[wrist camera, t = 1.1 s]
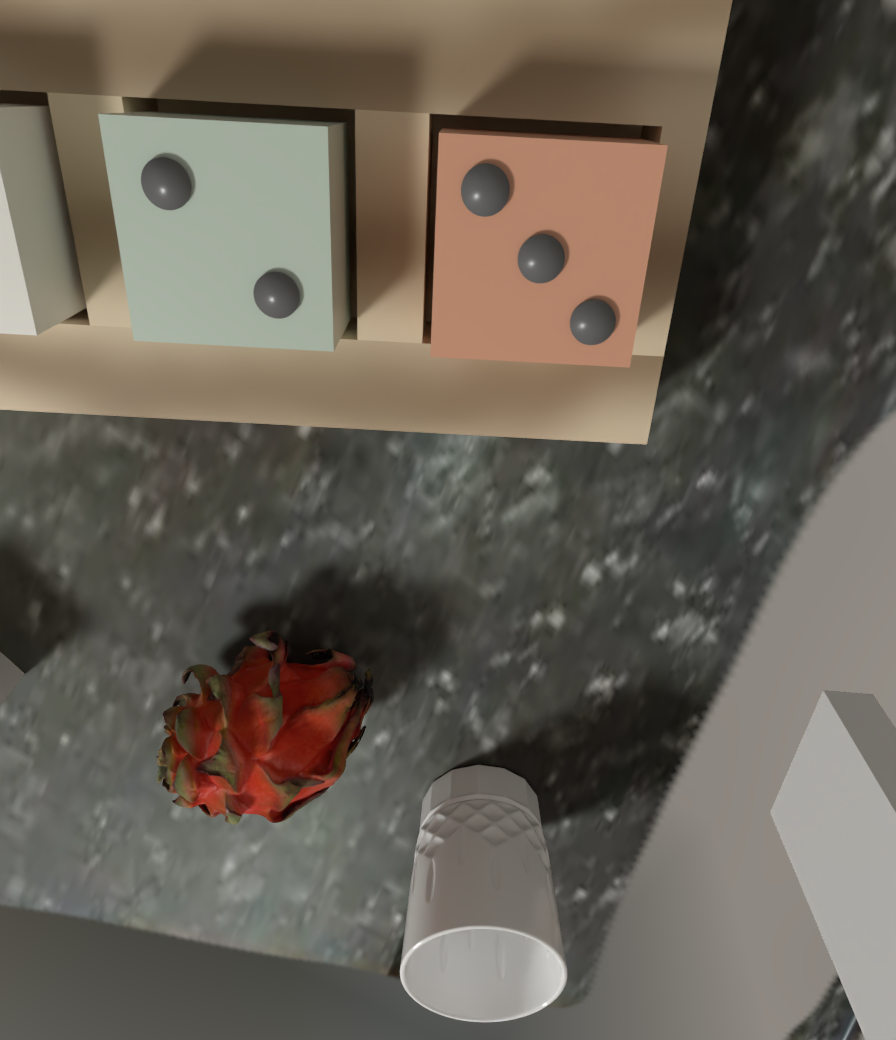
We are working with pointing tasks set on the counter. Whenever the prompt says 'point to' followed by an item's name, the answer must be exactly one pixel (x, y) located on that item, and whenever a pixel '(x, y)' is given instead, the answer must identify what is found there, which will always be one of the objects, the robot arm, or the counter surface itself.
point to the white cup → (482, 902)
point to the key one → (34, 226)
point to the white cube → (8, 677)
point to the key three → (542, 245)
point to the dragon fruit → (263, 732)
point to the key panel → (360, 192)
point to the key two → (231, 227)
